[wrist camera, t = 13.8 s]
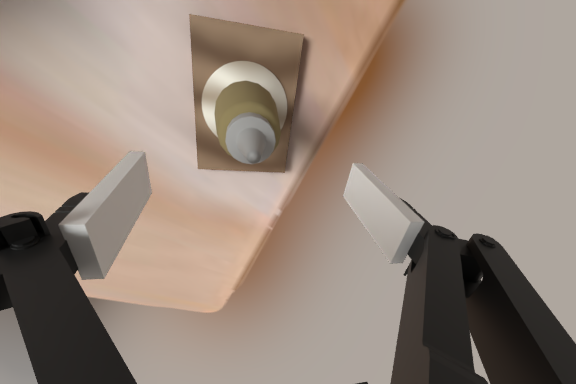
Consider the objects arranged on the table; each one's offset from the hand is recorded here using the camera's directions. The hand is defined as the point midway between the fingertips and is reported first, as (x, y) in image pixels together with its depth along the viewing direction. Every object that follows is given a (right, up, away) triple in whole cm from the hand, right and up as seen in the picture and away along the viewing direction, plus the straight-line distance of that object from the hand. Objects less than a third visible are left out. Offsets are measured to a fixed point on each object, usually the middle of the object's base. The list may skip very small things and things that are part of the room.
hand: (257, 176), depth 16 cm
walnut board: (-4, +12, +20) cm, 24 cm away
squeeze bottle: (-4, +11, +19) cm, 22 cm away
